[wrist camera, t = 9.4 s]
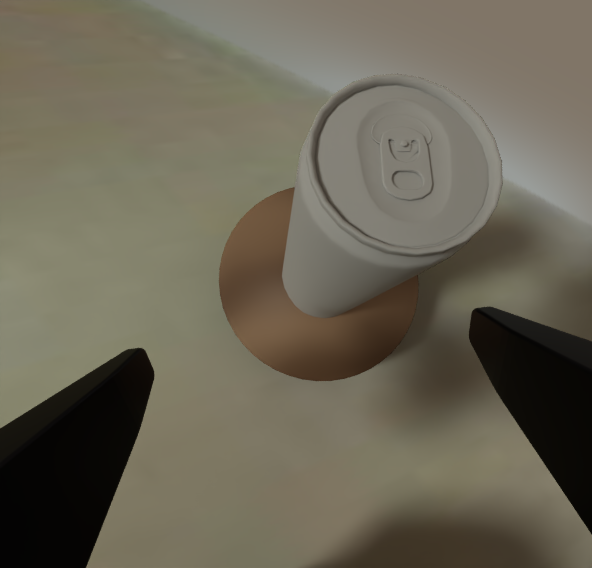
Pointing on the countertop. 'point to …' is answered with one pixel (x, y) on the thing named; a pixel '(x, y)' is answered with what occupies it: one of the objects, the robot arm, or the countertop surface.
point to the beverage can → (385, 190)
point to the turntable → (291, 320)
